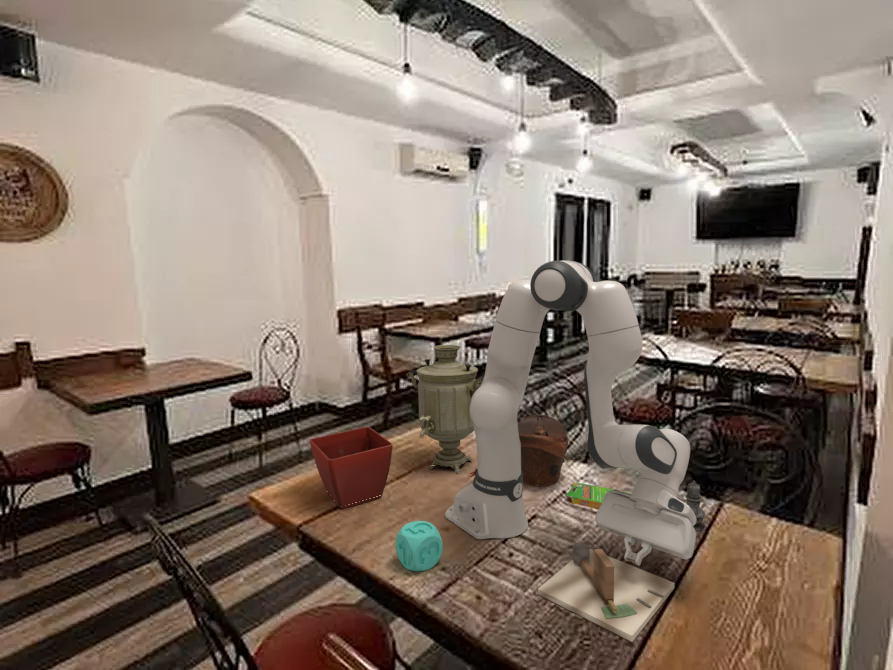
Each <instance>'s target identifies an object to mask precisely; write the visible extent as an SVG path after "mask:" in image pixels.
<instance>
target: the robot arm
mask: <svg viewBox="0 0 893 670" xmlns="http://www.w3.org/2000/svg"><path fill="white" fill-rule="evenodd" d="M595 277H596V276H595V275H594V273H593V271H592V270H591V269H590V268H589V267H588V266H587V265H585V264H584V263H581V262H577V261H574V260H571V259H570V260H568V259H563V260H550V261H547V262H545V263H543V264H542V265H540V266H538V268H537V269H536V270H534V273H532V276H531V279H518V280H515V281H513V282H511V283H510V284H509V286H508V287H507V289H506V291H505V292H504V296H503V297H502V300H501V302H500V305H499V308H498V311H497V313H496V317H495V321H494V324H493V330H492V332H491V337H490V340H489V344H488V348H487V358H486V359H487V361H486V365H485V371H484V376H483V377H484V379H483V382H482V384H481V385H479V386H478V387H477V388H478V389H477V390H476V391H475V393H474V394H473V396H472V399H471V403H470V416H471V419H472V421H473V426H474V431H473V432H474V434H475V439H476V440H475V441H476V451H477V452H476V457H477V458H476V459H477V468H475V470H473V471H472V472H470V473H469V478H472V477H473V479H472V482H470V483H468V484H467V485H466V486H464V487H463V488H461V489H460V490H458V491H457V493H456V494H455V496H454V499H453V504H452V505H451V506H450V507H448V508H447V509H446V510H445V512H444V517H445V518H446V519H447V520H449V521H450V522H451V523H453V524H455V526H457V527H459V528H460V529H462V530H464V531H465V532H466V533H467V534H469V535H471V537H473V538H474V539H476V540H486V539H510V538H514V537H517V536H519V535H522V534H523V533H524V532H526V531H527V529H528V527H529V522H528V518H527V516H526V515H527V514H526V512H525V511H526V510H525V505H524V499H523V492H524V491H523V490H524V482H523V473H522V471H521V442H520V439H519V433H518V424H517V423H518V412H519V408H520V406H521V404H522V403H523V399H524V396H525V392H526V387H527V384H528V379H529V375H530V371H531V367H532V363H533V359H534V355H535V352H536V348H537V345H538V344H537V343H538V341H539V338H540V334H541V330H542V327H543V322H544V321H545V318H546V314H547V313H549V311H550V310H552V311H567V312H577V313H579V315H580V316H581V317H582V320H583V323H584V326H585V330H586V336H587V340H588V357H587V361H586V362H585V364H584V368H583V376H584V377H583V378H584V382H583V383H584V391H585V400H586V401H585V402H586V413H587V423H588V433H587V449H588V452H589V455H590V457H591V459H592V460H593V461H594V463H595V464H596V465H597V466H599V467H601V468H604V469H619V468H620V469H627V470H636V471H638V473H639V475H638V477H636V481H635V482H634V483H635V484H634V487H633V489H632V492H631V493H632V494H629V493H630V492H628V493H626V492H627V491H623V492H621V491H622V490H618V489H616V488H615V489H614V488H613V490H611V491H608V492H606V494H605V496H604V499H603V503H602V504H601V506H600V508H599V509H598V510H597V512H596V514H595V517H594V520H595V523H596V525H597V526H598V527H599V528H600V529H602V530H603V531H604V530H605V531H607V532H609V533H612V534H615V535H618V536H620V537H623V538H624V539H623V541H624V546H625V553H624V556H623V559H624V560H625V561H627V562H630V563H632V564H634V565H637V566H641V564H642V561H643V559H644V558H645V557H647V555H649V554H650V553H652V548H653V549H655V550H657V551H658V550H659V551H661V552H664V553H666V554H669V555H671V556H674V557H677V558H680V559H683V560H689V559H690V558H692V557H693V554H694V549H695V546H696V537H697V533H696V530H695V529H694V527H693V526H694V525H695V524H696V520H697V519H696V516H695V514H694V512H693V511H692V509H691V508H690V507H689V506H688V505H687V504H686V503H685V502H684V501H682V500H680V499H679V495H680V494H679V493H680V492H679V488H680V485H681V484H682V482H683V481H684V480H685V477H686V473H687V470H688V465H689V461H690V456H691V444H690V441H689V440H688V439H687V438H686V437H685V436H684V435H683V434H682V433H680V432H678V431H677V430H674V429H671V428H658V427H656V426H654V425H649V424H618V423H617V422H616V420H615V419H614V410H613V409H614V407H613V406H614V405H613V398H612V397H613V396H612V385H613V382H614V381H615V379H616V378H617V377H618V376H620V375H621V374H623V373H624V372H626V371H627V370H628V369H630V368H632V367H633V366H634V364H636V362H637V361H638V359H640V356H641V355H642V351H643V338H642V333H641V328H640V326H639V321H638V317H637V313H636V310H635V308H634V305H633V302H632V300H631V297H630V295H629V293H628V291H627V288H626V287H625V286H624V284H622V282H621V283H620V282H619V281H615V280H601V281H596V278H595ZM611 492H613V493H611ZM635 542H637V543H640V544H641V547H642V549H640V550H639V551H638V552H637V553H635V552H633V551H632V546H634V545H635Z"/></svg>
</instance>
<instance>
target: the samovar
mask: <svg viewBox="0 0 893 670" xmlns="http://www.w3.org/2000/svg"><path fill="white" fill-rule="evenodd" d="M461 348H462V346H460V345H456V344H441V345H440V344H439V345H435V346H433V349H434V350H435V352H436V354H435V355H436V358H437V359H438V360H437V361H435V362H433V363H432V364H430V363H431V360H432V359H431V358H426V359H424V362H425V366H421V367H419V368H417V369H416V370H415V369H414V370H410V371H408V372H406V377H407V378H410V379H411V384H412V385H413V387H414V388H415V389H417V394H418V424H419V427H420V429H421V431H420V433H419V436H418V438H424V437H425V435H426V436H428V437H429V438H431V439H433V440H434V441H438V445H439V446H438V447H440V448H442V449H441V450H439V451H438V452H437V454H435V456H434V459H433V462H432V463H431V464H432V465H436V466H438V465H439V466H440V467H447V468H448V467H451V468H452V469H453V470H454V474H456V475H457V474H461V473H462V470H461V469H460V467H461V465H462V464H465V463H466V462H467V461H470V462H471V463H472V462H473V459H471V457H468V455H466V454H465V452H463V451H462V450H461V449H459V447H460V446H461V440H464V439H465V438H467V437H468V436H470V435H471V434H472V433H473V432H475V431H474V426H473V421H472V419H471V416H470V403H471V399H472V396H473V394H474V393H475V391H476V390H477V389H478V388H479V387H478V385H479V386H480V385H481V384H482V382H483V379H484V376H482V377H481V378H480V379H476V377H477V374H478V371H479V370H478V368H477V367H475V366H473V365H472V364H470V363H465V364H464V363H462V361H459V360H457V358H458V356H459V355H458V351H459V350H460V349H461ZM416 375H417V377H418V380H419V381H418V383H417V379H416V378H415V376H416ZM431 464H430V465H428V469H429V470H433V468H435V467H436V466H431Z"/></svg>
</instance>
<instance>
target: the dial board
mask: <svg viewBox="0 0 893 670" xmlns="http://www.w3.org/2000/svg"><path fill="white" fill-rule="evenodd" d="M607 557H608V558H609V559H610V561H611V562H612V564H613V565H614V605H615V606H616V608H617V612H613V611H612V609H611V608H610V606H609V605H605V603H604V601H603V600H602V598H601V597H600V595H599V593H598V592H597V590H596V589H595V587H594V585H593V584H592V582H591V581H590V579H589V577H588V576H587V574H586V573H585V571H584V569H583V568H582V566H581V565H580V564H577V563H575V562H574V561H573V558H572V559H571V560H570V561H569V562H567V564H566V565H564V566H563V567H562V568H561V569H559V570H558V571H557V572H556V573H555V574H554V575H553V576H551V577H550V578H549V579H548V580H547V581H545V582H544V583H543V584H542V585H541V586H539V588H537V595H539V596H541V597H542V598H544V599H546V600H548V601H550V602H552V603H554V604H556V605H559V606H560V607H562V608H563V609H565V610H568V611H570V612H572V613H573V614H576V615H578V616H580V617H582V618H583V619H586V620H588V621H589V622H592V623H594V624H595V625H598V626H600V627H601V628H603V629H606V630H607V631H609V632H611V633H612V634H615V635H617V636H620V637H621V638H623V639H625V640H627V641H630V642H631V643H633V641H634V640H635V639H636V638H637V637H638V635H640V633H641V631H642V630H643V629H644V628H645V627H646V625H647V624H648V623H649V621H650V620H651V618H653V616H654V615H655V613H656V612H657V611H658V610H659V608H660V607H661V606H662V604H664V603H665V601H666V600H667V599H668V597H669V596H670V594H671V593H672V592H673V590H674V589H675V584H676V583H675V582H673V581H670V580H668V579H666V578H663V577H661V576H659V575H657V574H653V573H651V572H648V571H645V570H644V569H641V568H639V567H636V566H633V565H631V564H629V563H626V562H623V561H621V560H620V559H616V558H614V557H611V556H609V555H607ZM590 563H591V565H592V566H593V568H594V549H591V548H590Z"/></svg>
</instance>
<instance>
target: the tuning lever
mask: <svg viewBox="0 0 893 670" xmlns="http://www.w3.org/2000/svg"><path fill="white" fill-rule="evenodd" d="M590 549H591V548H590V546H589V545H588V544H587V543H583V542H576V543H574V544H573V545H572V559H573V561H574V562H575V563H577V564H580V565H581V566H582V568H583V569H584V571H585V573H586V574H587V576H588V577H589V579H590V581H591V582H592V584H593V585H594V587H595V589H596V590H597V592H598V593H599V595H600V597H601V598H602V600H603V601H604V603H605V605H609V606H610V608H611V609H612V611H613V612H617V608H616V606H615V605H614V565H613V564H612V562H611V561H610V559H609V558H608V557H607V556H608V555H607V554H606V553H605V552H604V551H605V550H604V549H602V548H597V549H596V548H595V549H593V550H594V568H593V566H592V565H591V563H590Z"/></svg>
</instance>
